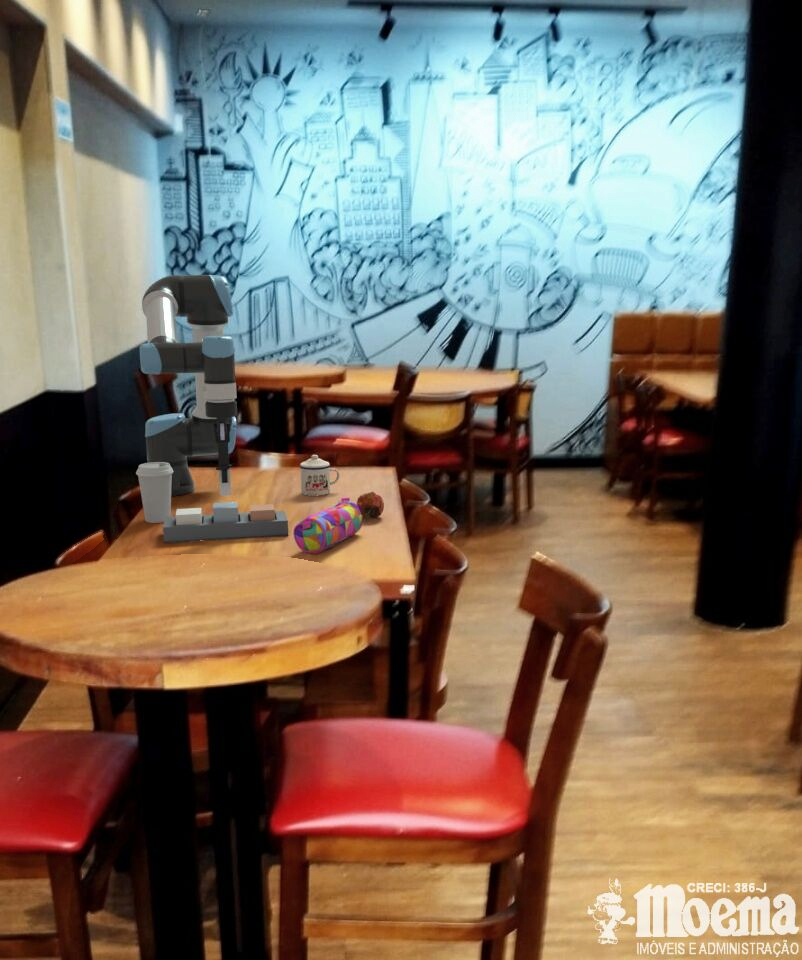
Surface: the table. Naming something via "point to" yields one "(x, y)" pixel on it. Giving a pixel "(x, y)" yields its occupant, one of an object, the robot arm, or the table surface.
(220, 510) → the slate key
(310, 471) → the teacup with lid
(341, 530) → the pencil case
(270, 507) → the terracotta key
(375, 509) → the pomegranate
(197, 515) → the ivory key
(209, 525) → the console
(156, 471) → the coffee cup
